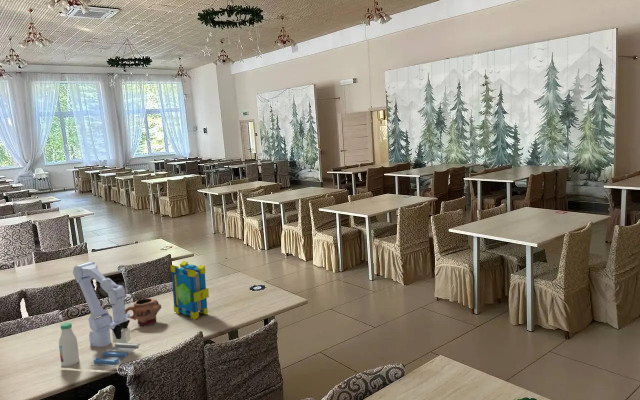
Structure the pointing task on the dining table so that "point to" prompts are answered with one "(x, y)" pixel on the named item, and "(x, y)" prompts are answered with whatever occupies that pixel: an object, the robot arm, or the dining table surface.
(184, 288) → the decorative book
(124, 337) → the tall cream block
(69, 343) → the milk bottle
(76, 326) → the dining table surface
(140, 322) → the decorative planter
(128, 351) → the board
